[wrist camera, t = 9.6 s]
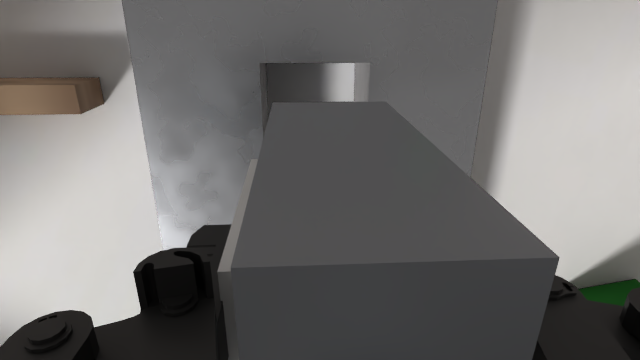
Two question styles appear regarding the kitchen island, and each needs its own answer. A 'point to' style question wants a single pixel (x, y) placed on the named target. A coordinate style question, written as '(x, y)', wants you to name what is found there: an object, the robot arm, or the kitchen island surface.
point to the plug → (378, 247)
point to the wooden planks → (49, 95)
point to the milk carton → (610, 292)
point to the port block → (290, 47)
